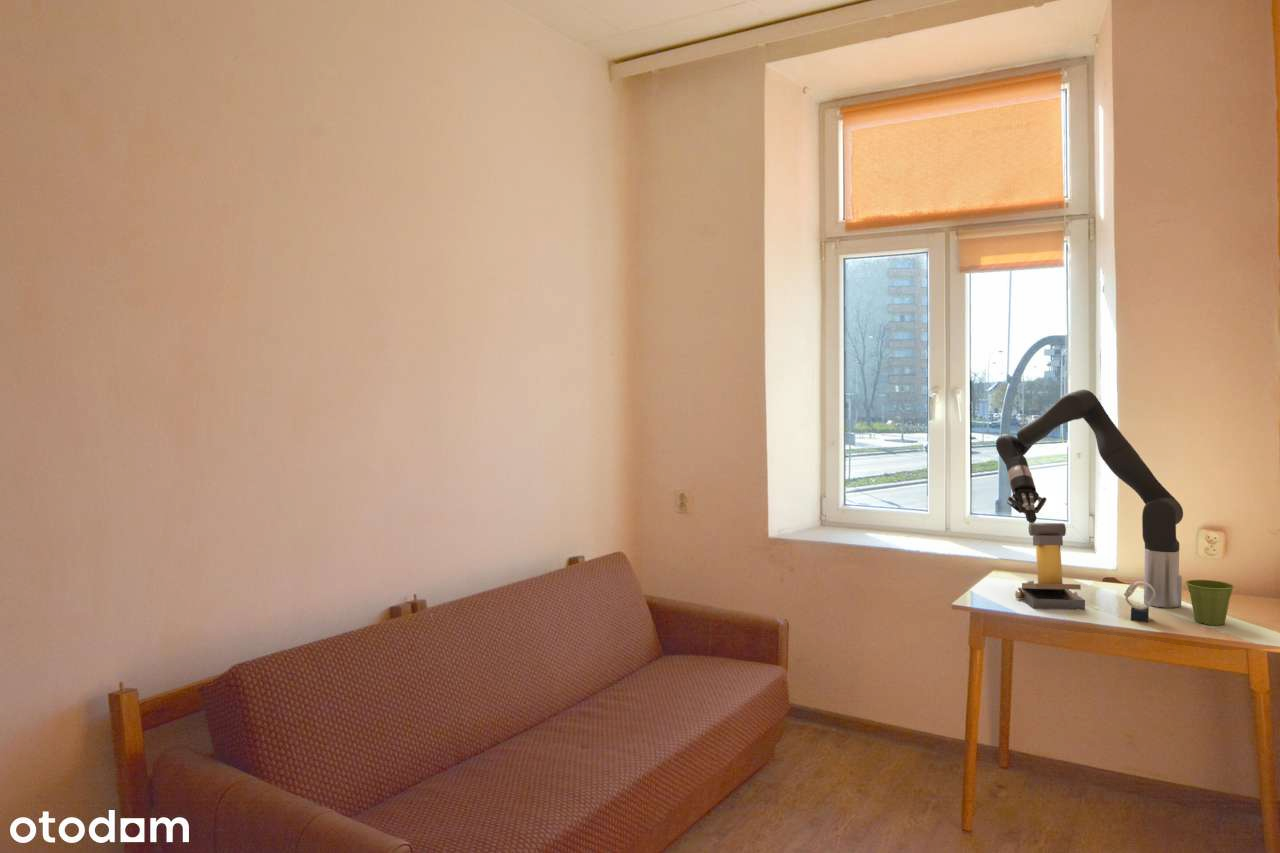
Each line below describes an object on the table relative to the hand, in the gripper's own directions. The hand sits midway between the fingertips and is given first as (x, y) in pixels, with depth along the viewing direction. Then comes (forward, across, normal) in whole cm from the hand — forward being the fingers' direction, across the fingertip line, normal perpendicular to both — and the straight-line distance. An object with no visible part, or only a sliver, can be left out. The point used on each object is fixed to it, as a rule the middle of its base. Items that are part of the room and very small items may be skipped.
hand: (1032, 521), depth 286 cm
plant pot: (+43, +37, -10) cm, 57 cm away
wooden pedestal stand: (+26, 0, 0) cm, 26 cm away
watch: (+41, +19, -8) cm, 46 cm away
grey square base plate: (+29, 0, +3) cm, 29 cm away
